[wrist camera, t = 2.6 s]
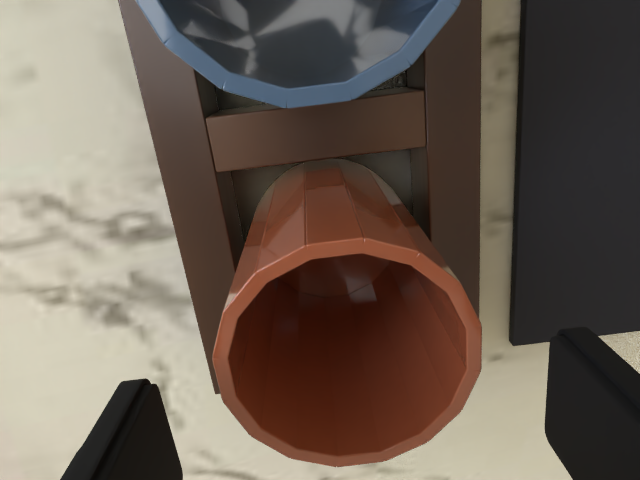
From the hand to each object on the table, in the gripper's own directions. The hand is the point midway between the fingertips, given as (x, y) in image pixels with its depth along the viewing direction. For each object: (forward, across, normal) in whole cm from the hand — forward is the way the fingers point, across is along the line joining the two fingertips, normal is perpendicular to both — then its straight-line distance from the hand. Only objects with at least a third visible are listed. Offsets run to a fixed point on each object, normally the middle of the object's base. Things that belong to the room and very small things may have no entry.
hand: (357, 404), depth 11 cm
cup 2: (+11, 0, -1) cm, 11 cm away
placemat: (+11, -13, -4) cm, 18 cm away
